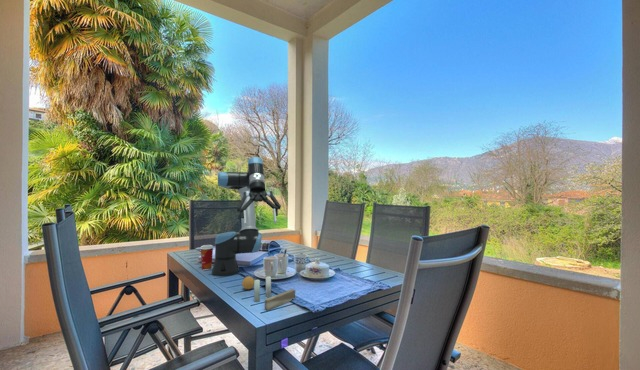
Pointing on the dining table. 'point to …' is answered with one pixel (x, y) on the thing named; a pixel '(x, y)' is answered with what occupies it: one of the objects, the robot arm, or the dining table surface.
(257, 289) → the sage pin
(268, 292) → the ivory pin
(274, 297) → the back wall
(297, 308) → the dining table surface
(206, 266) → the paper cup
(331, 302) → the dining table surface
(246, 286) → the ball
